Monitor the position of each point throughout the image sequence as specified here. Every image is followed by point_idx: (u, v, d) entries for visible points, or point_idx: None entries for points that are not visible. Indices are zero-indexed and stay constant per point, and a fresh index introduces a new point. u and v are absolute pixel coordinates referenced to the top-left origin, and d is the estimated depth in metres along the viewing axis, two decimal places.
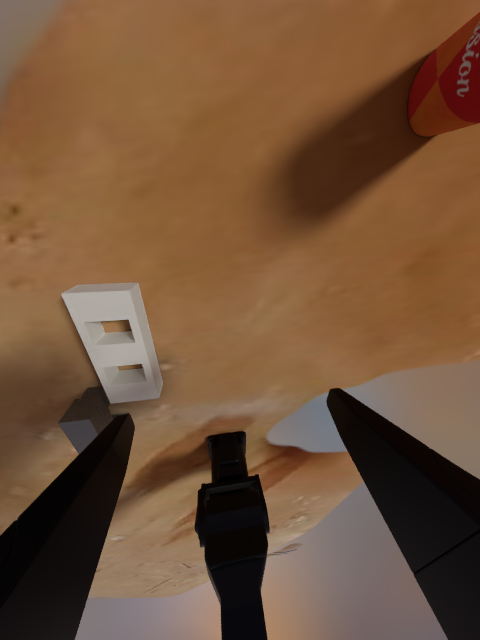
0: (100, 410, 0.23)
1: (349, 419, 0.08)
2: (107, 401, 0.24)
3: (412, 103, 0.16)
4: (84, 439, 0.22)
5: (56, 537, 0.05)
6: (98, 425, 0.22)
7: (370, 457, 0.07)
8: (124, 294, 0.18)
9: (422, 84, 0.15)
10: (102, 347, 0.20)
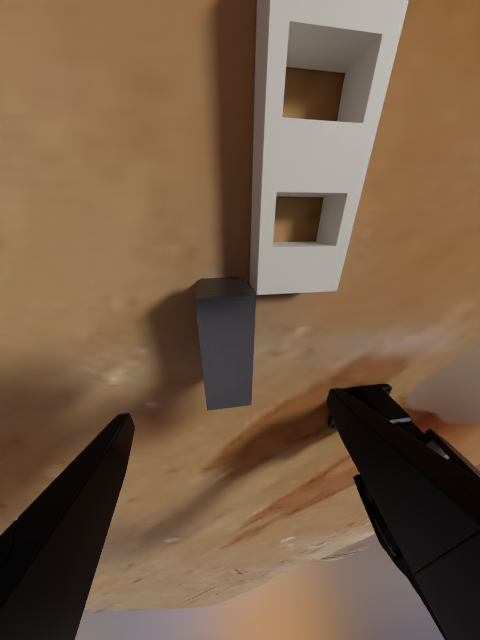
0: None
1: (349, 419, 0.08)
2: None
3: None
4: (226, 348, 0.11)
5: (56, 537, 0.05)
6: None
7: (370, 457, 0.07)
8: None
9: None
10: (297, 126, 0.09)
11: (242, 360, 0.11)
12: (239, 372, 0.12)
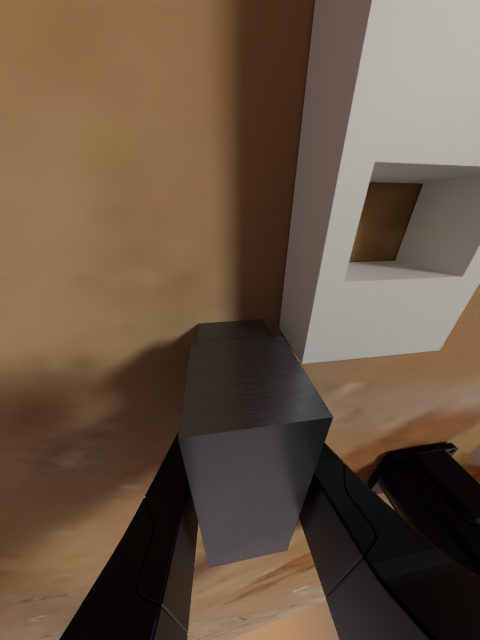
0: None
1: None
2: None
3: None
4: (251, 500, 0.05)
5: (184, 513, 0.05)
6: None
7: None
8: None
9: None
10: None
11: (281, 509, 0.06)
12: (273, 523, 0.06)
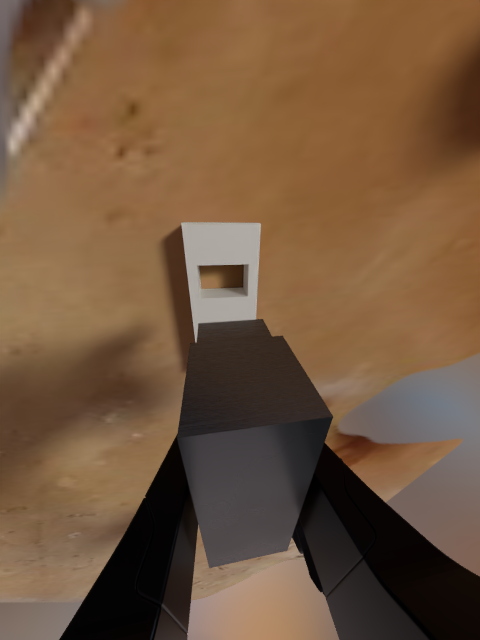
0: None
1: None
2: None
3: None
4: (251, 500, 0.05)
5: (184, 513, 0.05)
6: None
7: None
8: (253, 228, 0.14)
9: None
10: (209, 301, 0.16)
11: (282, 509, 0.06)
12: (273, 523, 0.06)
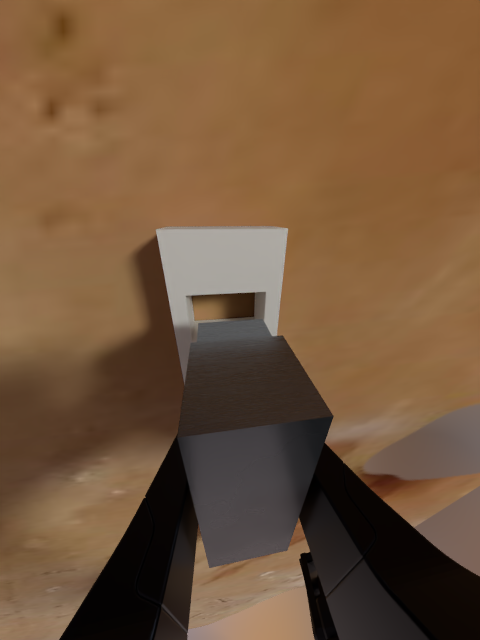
0: None
1: None
2: None
3: None
4: (251, 500, 0.05)
5: (184, 513, 0.05)
6: None
7: None
8: (276, 237, 0.09)
9: None
10: None
11: (282, 509, 0.06)
12: (273, 523, 0.06)
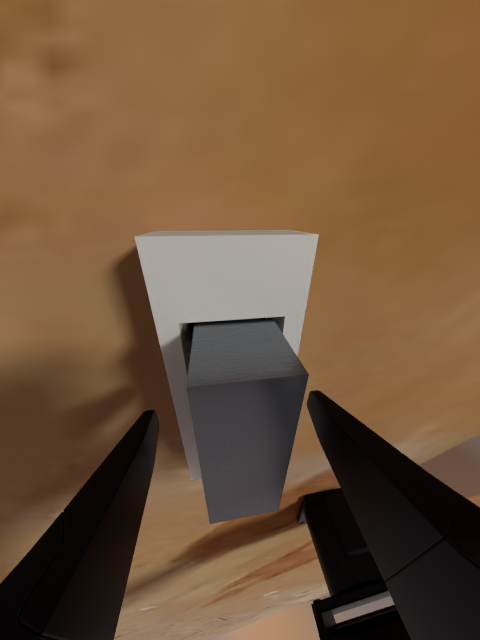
0: None
1: (326, 422, 0.08)
2: None
3: None
4: (245, 453, 0.06)
5: (102, 528, 0.05)
6: None
7: (345, 461, 0.07)
8: (301, 246, 0.06)
9: None
10: None
11: (271, 463, 0.07)
12: (264, 478, 0.07)
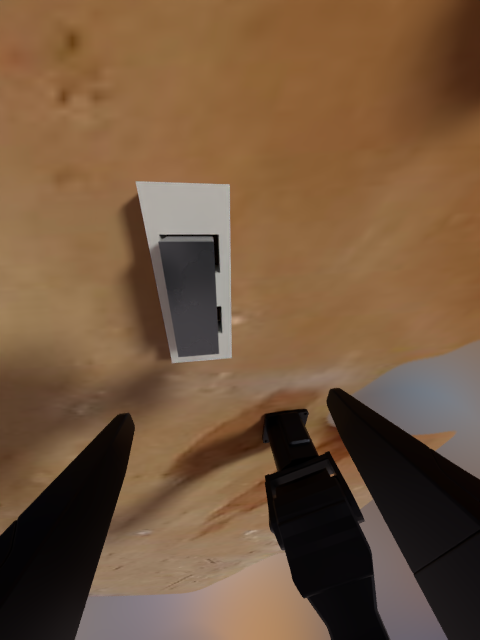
0: None
1: (349, 419, 0.08)
2: None
3: None
4: (191, 293, 0.12)
5: (56, 537, 0.05)
6: None
7: (370, 457, 0.07)
8: (221, 191, 0.12)
9: None
10: None
11: (207, 306, 0.13)
12: (205, 319, 0.13)
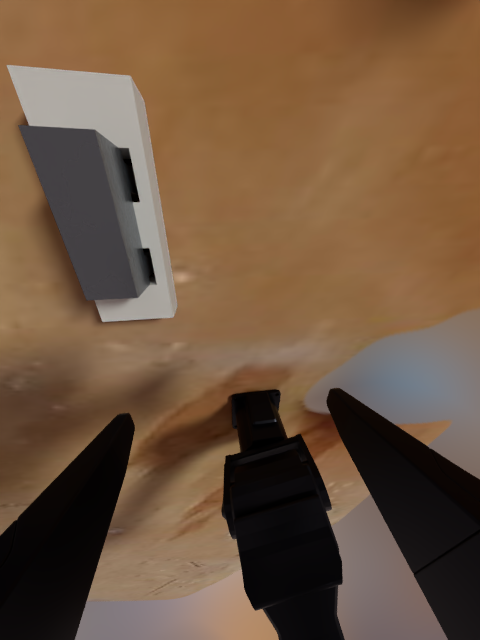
0: (117, 164, 0.11)
1: (349, 419, 0.08)
2: (128, 180, 0.12)
3: None
4: (82, 208, 0.10)
5: (56, 537, 0.05)
6: (113, 183, 0.10)
7: (370, 457, 0.07)
8: (121, 84, 0.10)
9: None
10: None
11: (107, 228, 0.10)
12: (109, 247, 0.11)
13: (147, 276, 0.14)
